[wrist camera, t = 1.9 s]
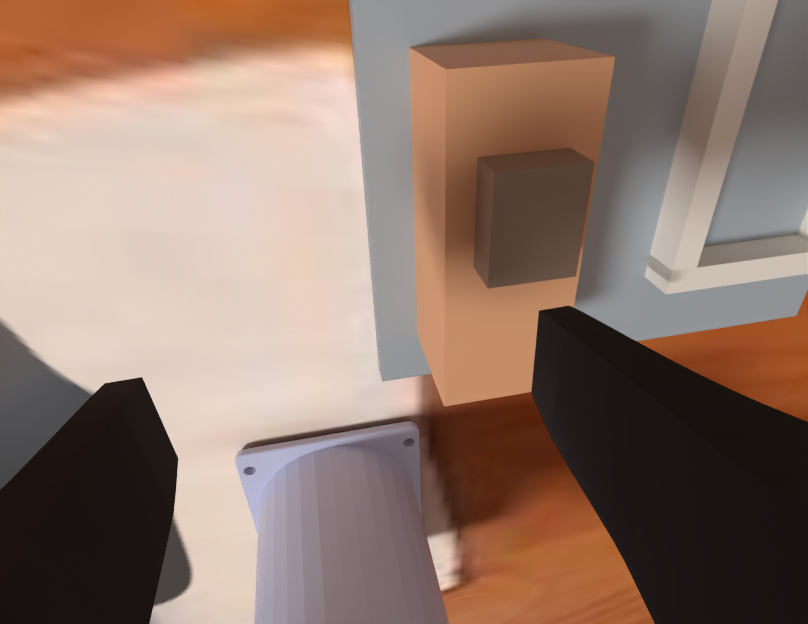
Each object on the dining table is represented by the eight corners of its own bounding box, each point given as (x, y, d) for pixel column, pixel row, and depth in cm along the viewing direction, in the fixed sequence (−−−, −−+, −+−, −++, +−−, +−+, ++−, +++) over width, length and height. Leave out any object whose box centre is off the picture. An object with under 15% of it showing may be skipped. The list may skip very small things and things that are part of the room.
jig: (782, 306, 25) (822, 333, 23) (379, 368, 22) (388, 405, 20) (1013, -239, 15) (1117, -269, 13) (328, -247, 12) (336, -286, 10)
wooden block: (516, 321, 21) (577, 411, 17) (417, 335, 20) (454, 433, 16) (543, 38, 15) (645, 64, 11) (409, 47, 15) (461, 78, 11)
